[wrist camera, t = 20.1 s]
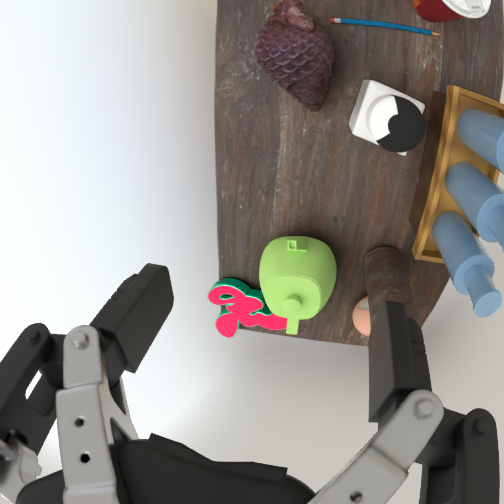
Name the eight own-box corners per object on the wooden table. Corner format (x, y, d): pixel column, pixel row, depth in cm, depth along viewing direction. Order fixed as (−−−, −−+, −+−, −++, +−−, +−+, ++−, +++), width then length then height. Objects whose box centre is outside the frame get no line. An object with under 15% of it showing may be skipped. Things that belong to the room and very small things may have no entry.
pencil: (329, 18, 32) (329, 17, 31) (441, 33, 28) (442, 33, 27) (330, 23, 32) (330, 22, 32) (441, 38, 28) (442, 37, 28)
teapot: (261, 207, 51) (242, 247, 41) (341, 211, 48) (343, 254, 38) (266, 296, 62) (252, 342, 52) (331, 302, 59) (328, 350, 49)
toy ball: (397, 295, 55) (402, 324, 49) (376, 320, 60) (378, 348, 53) (364, 281, 55) (367, 310, 49) (345, 307, 60) (344, 336, 53)
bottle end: (430, 213, 36) (469, 288, 23) (466, 208, 34) (514, 278, 21) (431, 248, 39) (461, 328, 26) (464, 243, 37) (503, 319, 24)
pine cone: (357, 100, 38) (327, 129, 34) (300, 98, 44) (265, 125, 40) (327, -13, 26) (287, -8, 22) (267, -1, 32) (221, 11, 28)
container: (410, 99, 35) (440, 110, 25) (394, 143, 40) (416, 170, 30) (363, 78, 36) (378, 80, 25) (347, 124, 40) (355, 143, 30)
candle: (378, 235, 49) (394, 319, 33) (409, 253, 49) (433, 337, 33) (355, 266, 54) (359, 352, 37) (386, 282, 54) (398, 367, 38)
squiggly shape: (222, 329, 71) (218, 335, 70) (206, 275, 63) (201, 281, 61) (304, 342, 64) (301, 350, 62) (300, 284, 56) (297, 292, 54)
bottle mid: (443, 163, 32) (498, 220, 19) (479, 159, 30) (543, 213, 17) (445, 203, 35) (491, 273, 22) (479, 198, 33) (533, 265, 20)
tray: (428, 81, 33) (454, 85, 25) (479, 98, 31) (512, 108, 23) (402, 225, 47) (414, 259, 39) (448, 233, 45) (466, 267, 37)
